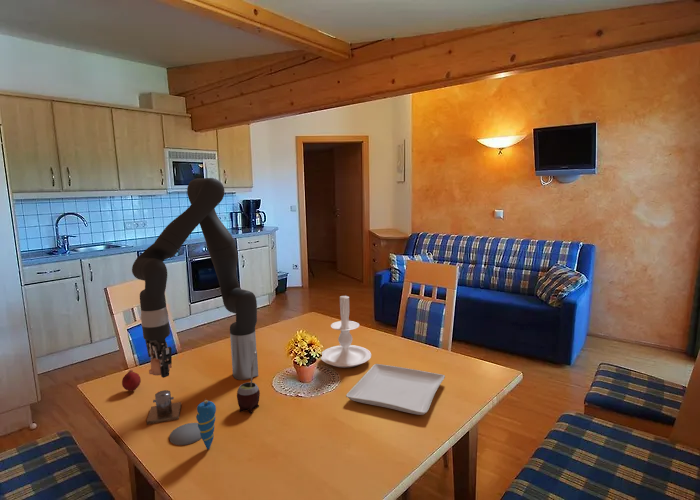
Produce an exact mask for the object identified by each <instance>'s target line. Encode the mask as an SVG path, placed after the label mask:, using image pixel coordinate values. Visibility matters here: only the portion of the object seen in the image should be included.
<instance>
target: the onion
mask: <svg viewBox="0 0 700 500" xmlns="http://www.w3.org/2000/svg"><path fill="white" fill-rule="evenodd" d="M141 381H142V379H141V376H140V375H139V374H138V373H137V372H134V371H133V369H129V371H128V372H127V373H126V374H125V375H124V376H123V377H122V380H121V385H122V387H123V389H124V390H126V391H128V392H134V391H135V390H136V389H137V388H139V386H140V385H141Z"/></svg>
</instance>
